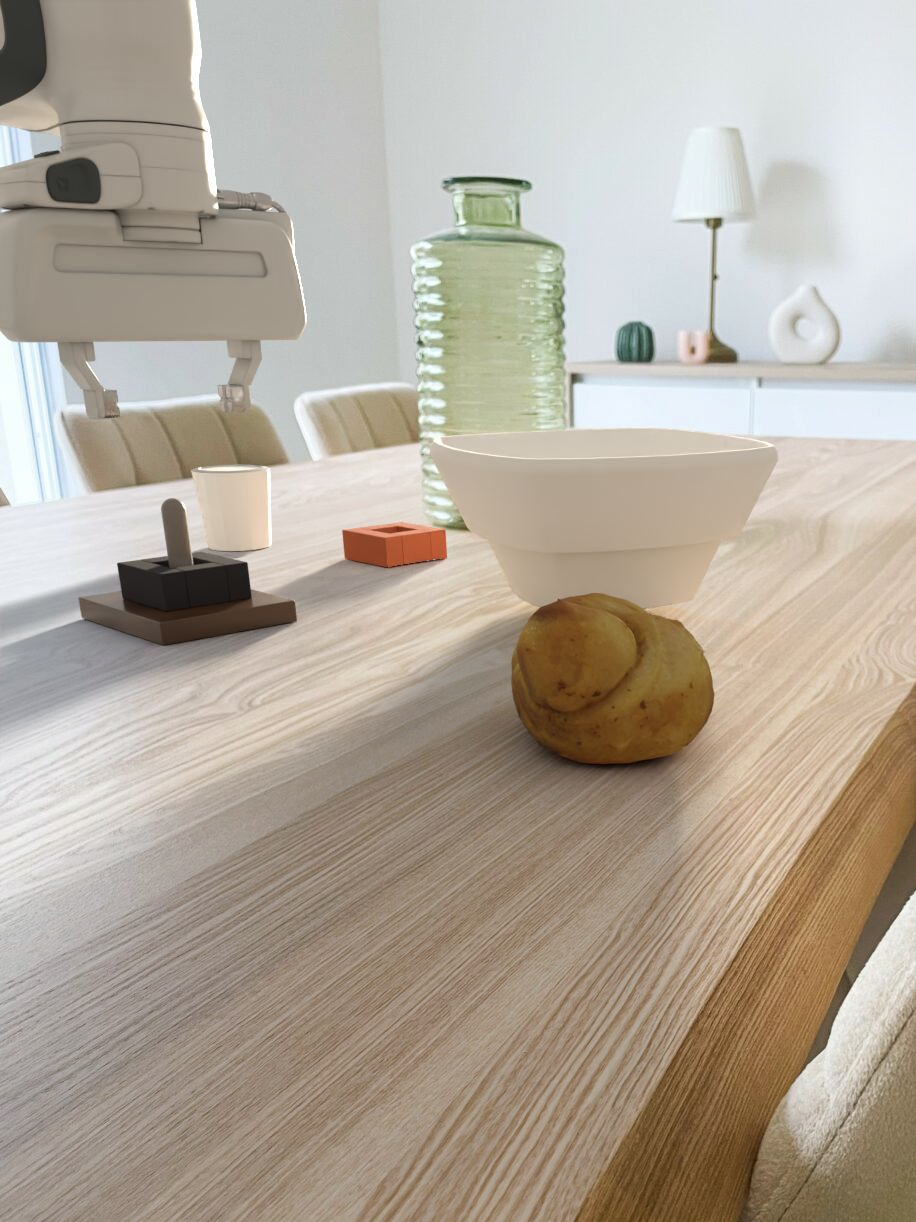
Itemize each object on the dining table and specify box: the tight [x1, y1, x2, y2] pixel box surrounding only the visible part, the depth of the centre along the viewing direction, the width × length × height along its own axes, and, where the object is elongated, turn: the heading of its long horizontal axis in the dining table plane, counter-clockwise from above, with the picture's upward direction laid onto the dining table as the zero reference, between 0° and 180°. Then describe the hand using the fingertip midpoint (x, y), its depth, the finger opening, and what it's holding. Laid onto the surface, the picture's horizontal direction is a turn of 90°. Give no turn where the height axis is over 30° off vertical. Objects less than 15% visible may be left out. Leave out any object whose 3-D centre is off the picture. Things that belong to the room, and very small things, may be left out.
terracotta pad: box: [341, 521, 448, 568], centre depth 114 cm, size 6×6×2 cm
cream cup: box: [190, 463, 272, 552], centre depth 119 cm, size 7×7×7 cm
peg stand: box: [78, 497, 298, 646], centre depth 90 cm, size 12×10×8 cm
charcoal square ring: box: [116, 551, 252, 612], centre depth 90 cm, size 6×6×2 cm
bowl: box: [429, 427, 779, 610], centre depth 93 cm, size 22×22×12 cm
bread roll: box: [510, 593, 715, 765], centre depth 64 cm, size 13×10×8 cm
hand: (172, 415), depth 87 cm, fingers open, 8 cm apart
